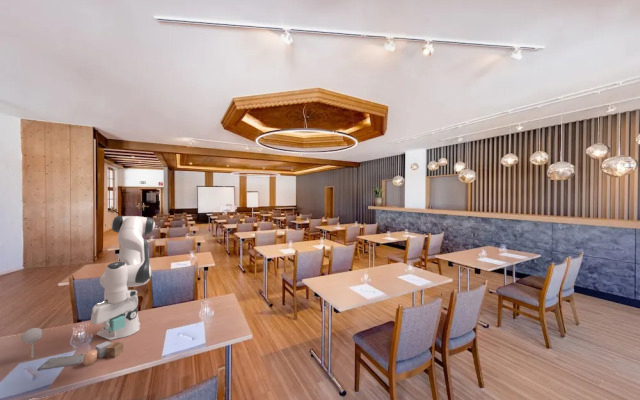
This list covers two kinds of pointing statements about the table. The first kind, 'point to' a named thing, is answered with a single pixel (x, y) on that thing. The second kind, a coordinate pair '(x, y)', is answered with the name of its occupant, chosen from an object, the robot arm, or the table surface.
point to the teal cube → (117, 323)
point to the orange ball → (90, 357)
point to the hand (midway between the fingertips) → (115, 324)
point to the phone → (62, 361)
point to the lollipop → (32, 337)
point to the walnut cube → (114, 350)
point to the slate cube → (102, 349)
